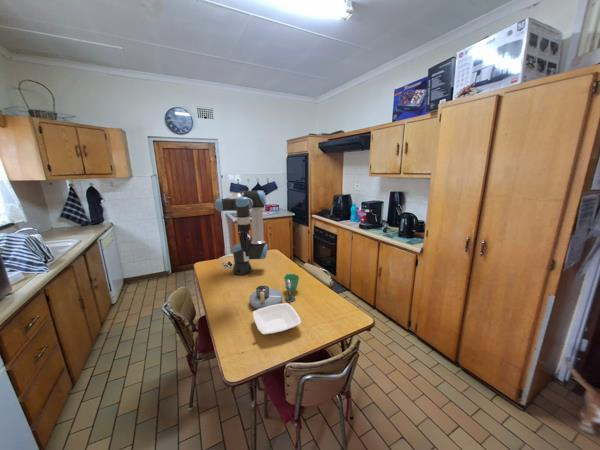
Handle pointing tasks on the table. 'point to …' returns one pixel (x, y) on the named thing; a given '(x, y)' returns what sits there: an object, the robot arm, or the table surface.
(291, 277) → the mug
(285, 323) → the bowl
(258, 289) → the cover
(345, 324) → the table surface
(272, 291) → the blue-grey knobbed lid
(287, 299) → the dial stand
